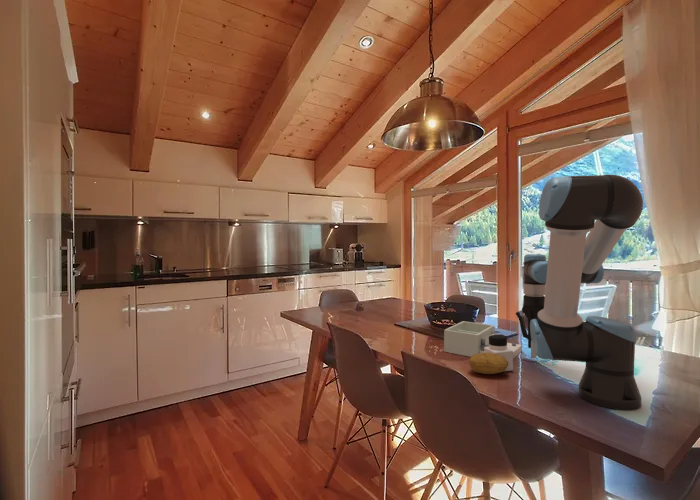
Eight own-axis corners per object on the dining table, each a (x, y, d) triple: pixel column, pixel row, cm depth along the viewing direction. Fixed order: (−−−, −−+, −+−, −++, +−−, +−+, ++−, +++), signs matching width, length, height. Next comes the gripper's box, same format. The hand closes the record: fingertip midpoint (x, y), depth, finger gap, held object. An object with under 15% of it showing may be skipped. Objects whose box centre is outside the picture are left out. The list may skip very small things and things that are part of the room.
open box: (487, 360, 145) (487, 336, 145) (444, 351, 156) (444, 329, 155) (503, 347, 161) (503, 326, 160) (462, 340, 171) (462, 321, 171)
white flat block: (509, 363, 142) (509, 353, 142) (479, 358, 149) (479, 348, 149) (521, 352, 156) (521, 342, 156) (494, 347, 163) (494, 338, 163)
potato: (470, 367, 137) (470, 348, 137) (508, 372, 132) (508, 352, 132) (467, 374, 129) (468, 354, 129) (508, 380, 124) (508, 359, 124)
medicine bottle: (514, 370, 132) (512, 336, 132) (495, 372, 131) (494, 338, 131) (502, 364, 139) (500, 332, 139) (484, 366, 138) (483, 333, 138)
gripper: (555, 295, 142) (554, 357, 142) (518, 292, 150) (517, 351, 150) (551, 297, 136) (551, 363, 136) (513, 294, 144) (513, 356, 144)
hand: (533, 357), depth 143 cm, fingers closed
